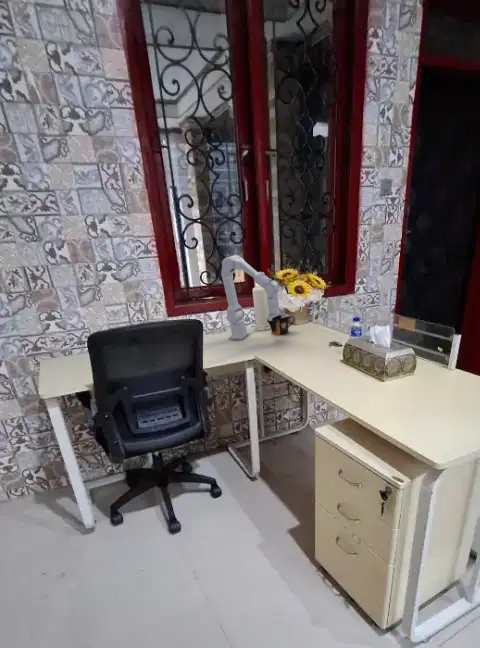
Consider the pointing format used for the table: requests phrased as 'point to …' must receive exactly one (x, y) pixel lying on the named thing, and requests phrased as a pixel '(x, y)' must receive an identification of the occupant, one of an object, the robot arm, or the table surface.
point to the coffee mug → (284, 324)
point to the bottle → (260, 307)
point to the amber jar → (276, 329)
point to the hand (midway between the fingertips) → (275, 330)
